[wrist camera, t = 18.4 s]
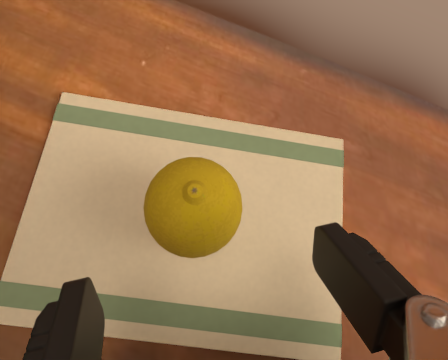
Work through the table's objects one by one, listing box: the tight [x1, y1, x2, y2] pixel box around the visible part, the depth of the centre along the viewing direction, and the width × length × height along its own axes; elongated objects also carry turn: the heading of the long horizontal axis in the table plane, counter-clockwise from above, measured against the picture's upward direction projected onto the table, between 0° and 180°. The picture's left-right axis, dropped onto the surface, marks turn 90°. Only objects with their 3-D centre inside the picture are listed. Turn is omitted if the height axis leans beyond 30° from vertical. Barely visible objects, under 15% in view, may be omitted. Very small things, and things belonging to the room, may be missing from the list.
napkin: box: [0, 92, 344, 360], centre depth 22 cm, size 22×16×1 cm
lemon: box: [143, 157, 242, 258], centre depth 18 cm, size 6×6×8 cm
